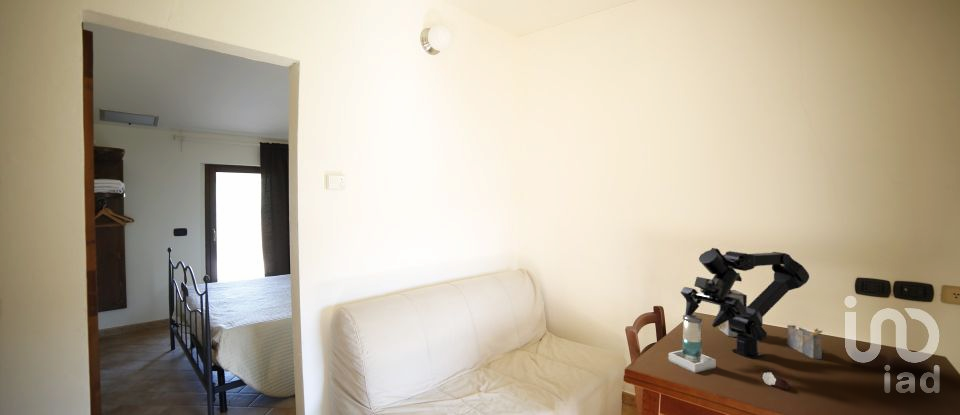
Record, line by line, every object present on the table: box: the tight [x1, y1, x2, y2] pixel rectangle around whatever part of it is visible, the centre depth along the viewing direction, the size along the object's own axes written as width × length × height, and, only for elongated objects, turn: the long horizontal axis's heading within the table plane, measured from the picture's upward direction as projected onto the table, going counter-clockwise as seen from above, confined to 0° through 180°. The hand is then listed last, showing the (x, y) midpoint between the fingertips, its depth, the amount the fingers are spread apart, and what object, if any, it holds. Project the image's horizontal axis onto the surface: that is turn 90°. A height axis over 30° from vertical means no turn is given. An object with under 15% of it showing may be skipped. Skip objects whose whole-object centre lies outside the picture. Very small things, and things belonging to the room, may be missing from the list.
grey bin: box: [668, 349, 717, 374], centre depth 117 cm, size 9×9×2 cm
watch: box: [760, 370, 790, 390], centre depth 104 cm, size 8×5×4 cm, turn 6°
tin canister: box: [681, 314, 703, 363], centre depth 117 cm, size 5×5×14 cm
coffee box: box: [718, 289, 748, 338], centre depth 144 cm, size 9×6×16 cm
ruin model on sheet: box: [786, 324, 824, 360], centre depth 127 cm, size 11×3×10 cm, turn 176°
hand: (699, 322), depth 117 cm, fingers open, 9 cm apart
